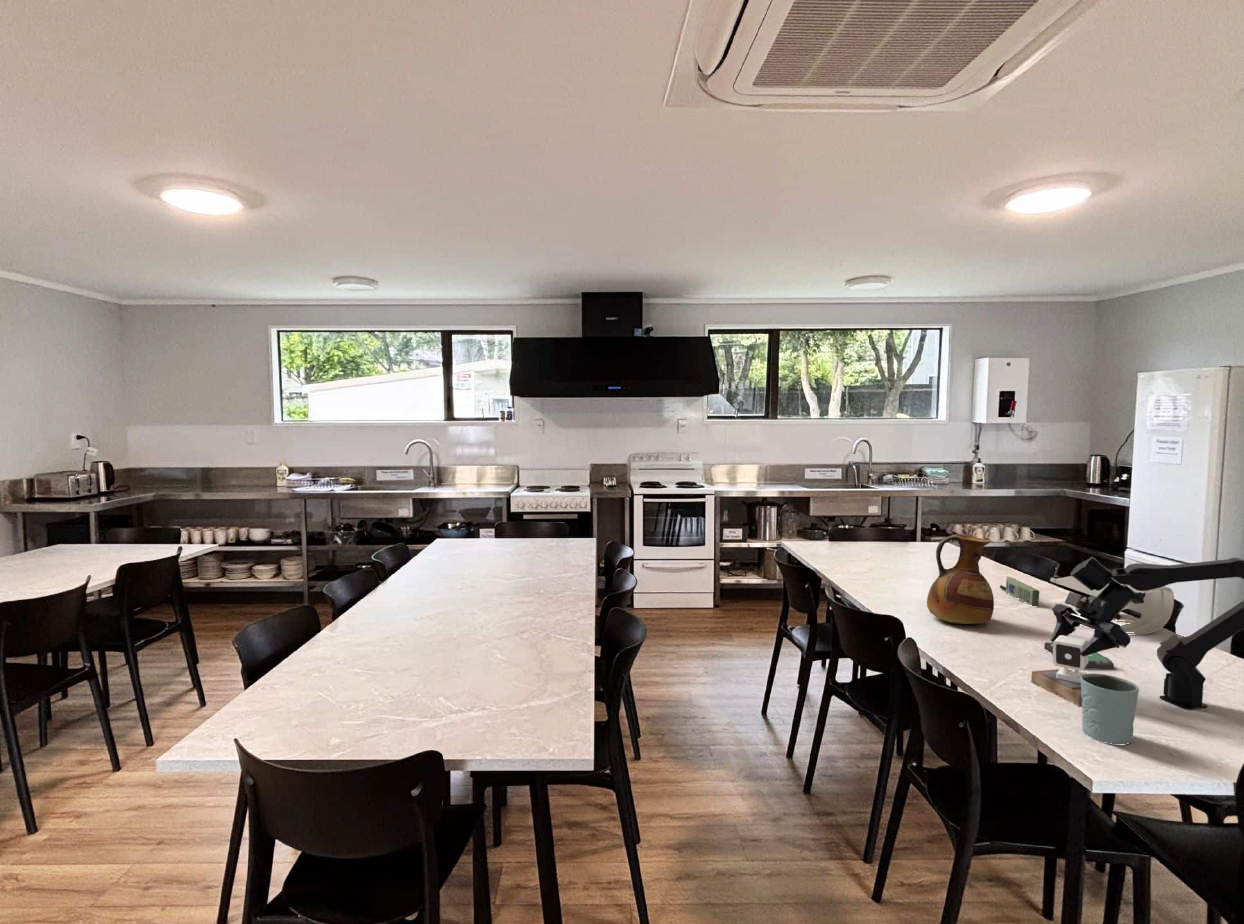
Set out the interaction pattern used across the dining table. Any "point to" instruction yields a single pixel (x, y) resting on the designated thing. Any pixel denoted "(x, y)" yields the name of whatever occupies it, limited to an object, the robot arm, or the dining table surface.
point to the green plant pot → (1108, 707)
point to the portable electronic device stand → (1136, 606)
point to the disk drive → (1090, 659)
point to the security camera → (1069, 657)
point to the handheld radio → (1021, 591)
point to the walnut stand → (1058, 685)
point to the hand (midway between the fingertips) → (1066, 648)
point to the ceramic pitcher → (962, 585)
